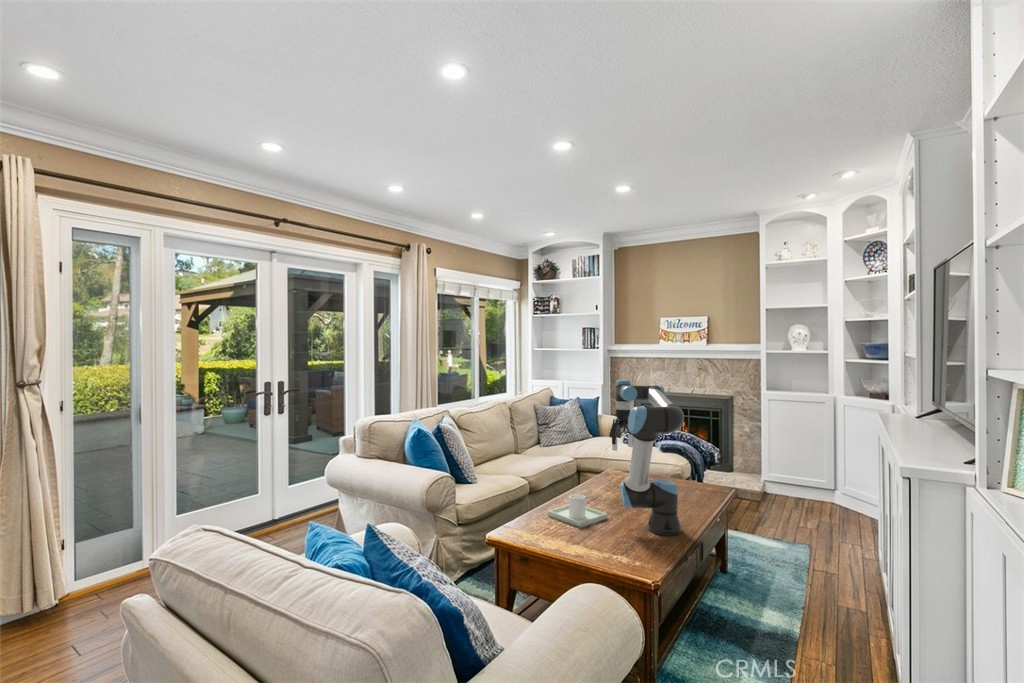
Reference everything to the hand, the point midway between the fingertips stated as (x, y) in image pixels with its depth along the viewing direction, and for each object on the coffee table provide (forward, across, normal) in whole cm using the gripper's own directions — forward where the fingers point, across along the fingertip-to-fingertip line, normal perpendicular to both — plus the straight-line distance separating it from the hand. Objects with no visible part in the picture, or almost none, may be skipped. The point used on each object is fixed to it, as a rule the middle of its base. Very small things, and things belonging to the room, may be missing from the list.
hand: (622, 448), depth 271 cm
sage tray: (+32, +29, -6) cm, 43 cm away
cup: (+31, +29, -6) cm, 43 cm away
